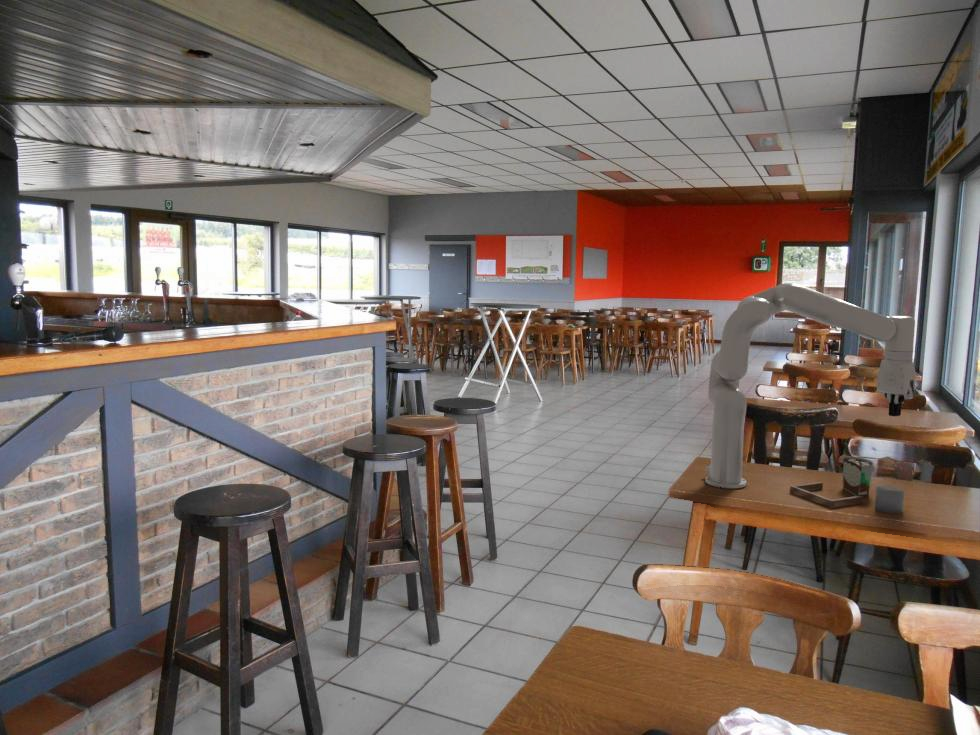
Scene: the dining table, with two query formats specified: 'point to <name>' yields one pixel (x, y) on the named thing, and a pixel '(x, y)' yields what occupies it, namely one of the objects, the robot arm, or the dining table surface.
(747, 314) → the robot arm
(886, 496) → the grey glossy rounded part
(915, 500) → the dining table surface
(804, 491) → the frame
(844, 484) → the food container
